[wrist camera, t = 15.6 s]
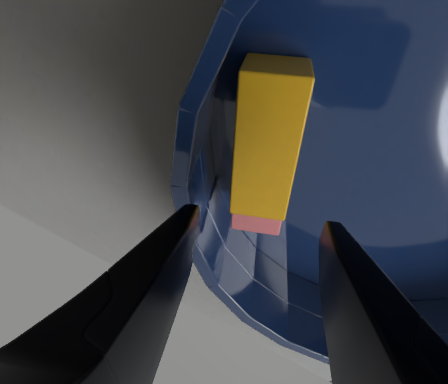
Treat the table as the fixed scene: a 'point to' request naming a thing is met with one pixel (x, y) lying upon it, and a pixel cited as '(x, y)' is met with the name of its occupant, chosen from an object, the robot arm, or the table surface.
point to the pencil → (267, 138)
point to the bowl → (326, 157)
